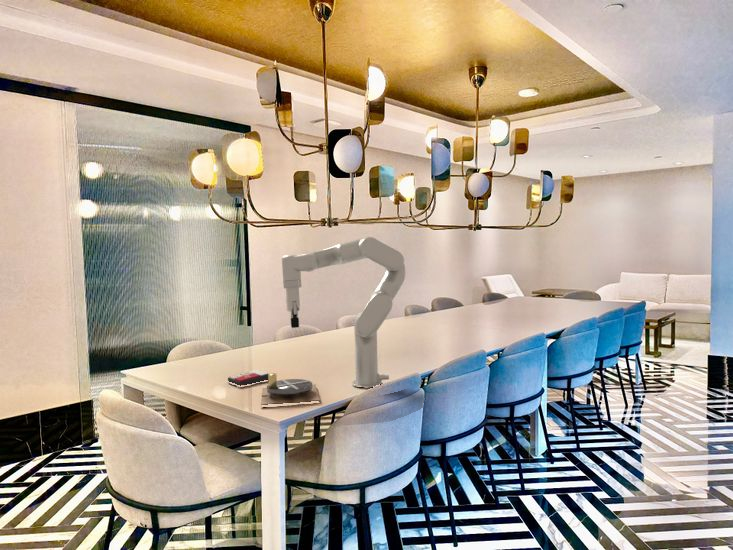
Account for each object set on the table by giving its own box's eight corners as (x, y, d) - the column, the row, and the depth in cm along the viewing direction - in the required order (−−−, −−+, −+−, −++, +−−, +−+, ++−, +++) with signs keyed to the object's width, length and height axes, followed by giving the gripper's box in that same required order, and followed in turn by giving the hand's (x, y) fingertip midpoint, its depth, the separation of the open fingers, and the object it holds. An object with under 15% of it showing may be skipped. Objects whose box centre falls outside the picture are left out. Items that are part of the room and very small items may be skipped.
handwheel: (301, 384, 215) (301, 363, 214) (320, 394, 199) (319, 372, 198) (260, 391, 205) (259, 370, 205) (276, 402, 190) (275, 379, 189)
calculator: (227, 376, 225) (256, 368, 235) (228, 385, 226) (257, 377, 236) (239, 380, 217) (269, 372, 227) (240, 390, 218) (270, 381, 228)
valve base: (315, 387, 215) (315, 383, 215) (320, 403, 193) (319, 398, 193) (262, 391, 211) (262, 387, 211) (261, 408, 190) (260, 403, 190)
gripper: (282, 283, 220) (285, 325, 222) (284, 286, 206) (287, 330, 207) (299, 282, 222) (302, 324, 223) (303, 284, 208) (306, 329, 209)
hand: (295, 327), depth 215 cm, fingers closed
